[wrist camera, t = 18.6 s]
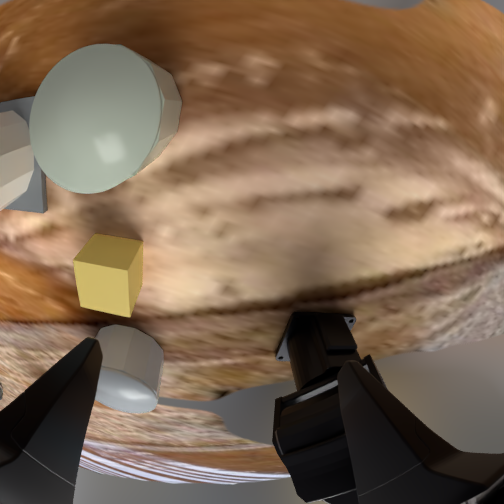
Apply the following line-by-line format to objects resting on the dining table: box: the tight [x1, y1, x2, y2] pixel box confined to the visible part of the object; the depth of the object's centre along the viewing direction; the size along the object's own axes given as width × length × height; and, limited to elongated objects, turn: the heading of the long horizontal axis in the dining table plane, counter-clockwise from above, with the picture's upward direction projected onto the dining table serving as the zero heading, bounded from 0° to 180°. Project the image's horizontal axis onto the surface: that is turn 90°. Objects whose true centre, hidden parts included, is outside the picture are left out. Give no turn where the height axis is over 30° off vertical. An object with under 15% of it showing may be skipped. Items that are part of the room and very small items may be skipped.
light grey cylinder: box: [95, 324, 164, 413], centre depth 22 cm, size 7×7×6 cm
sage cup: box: [29, 44, 182, 194], centre depth 12 cm, size 7×7×6 cm
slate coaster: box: [0, 96, 47, 213], centre depth 14 cm, size 9×9×1 cm
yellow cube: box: [73, 233, 143, 317], centre depth 18 cm, size 4×4×4 cm
